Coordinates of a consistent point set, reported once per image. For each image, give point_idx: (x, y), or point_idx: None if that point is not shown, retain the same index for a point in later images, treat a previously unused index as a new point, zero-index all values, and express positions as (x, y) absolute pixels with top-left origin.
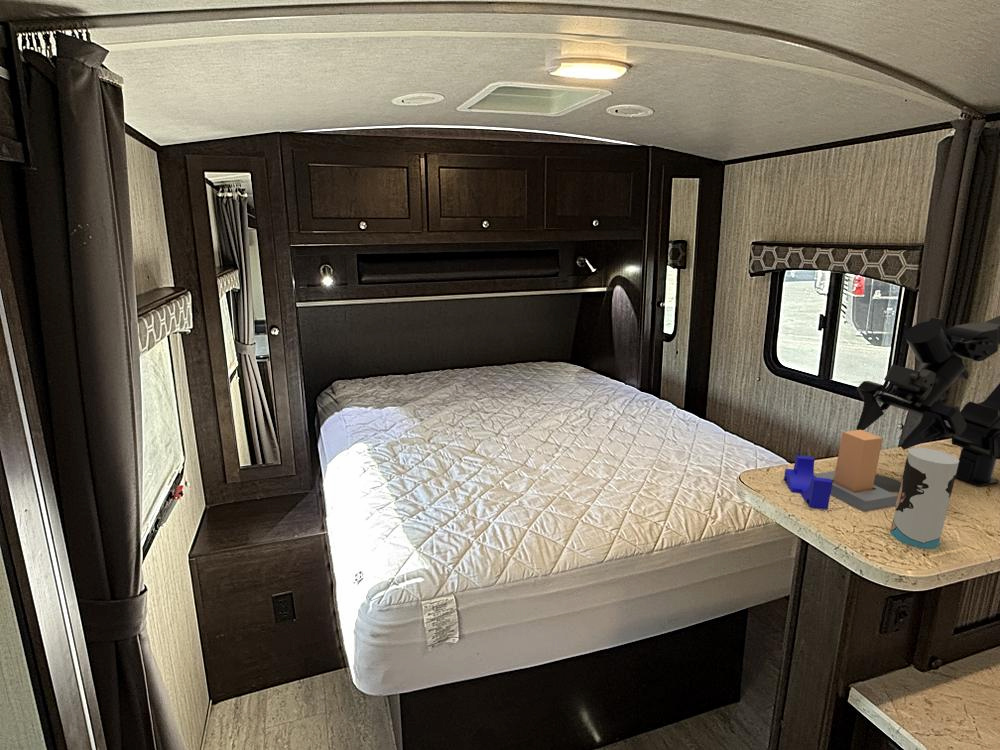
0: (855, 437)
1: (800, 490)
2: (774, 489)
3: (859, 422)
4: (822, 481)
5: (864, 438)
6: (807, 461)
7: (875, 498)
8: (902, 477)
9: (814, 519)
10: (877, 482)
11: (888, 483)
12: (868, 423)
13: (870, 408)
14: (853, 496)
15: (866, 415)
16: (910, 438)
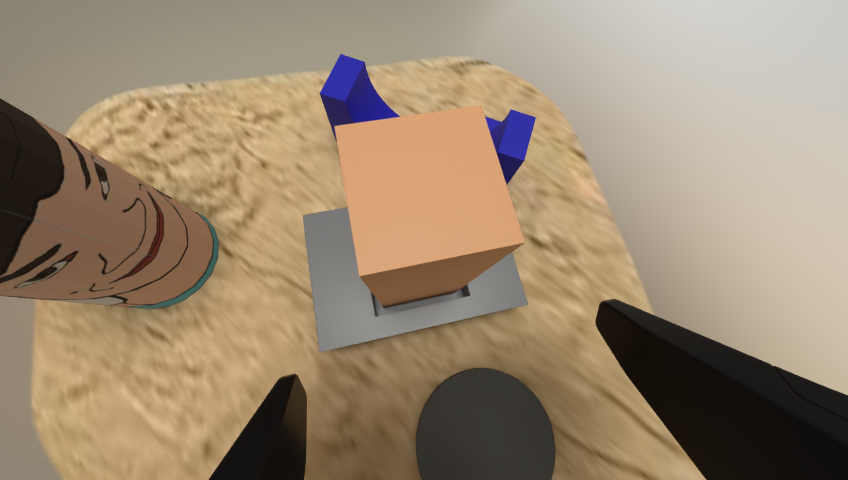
0: (396, 120)
1: None
2: (465, 107)
3: (658, 321)
4: (331, 71)
5: (362, 146)
6: (500, 138)
7: (314, 259)
8: (27, 114)
9: (311, 102)
10: (488, 422)
11: (480, 461)
12: (669, 406)
13: (844, 452)
14: (342, 209)
15: (722, 376)
16: (235, 443)
